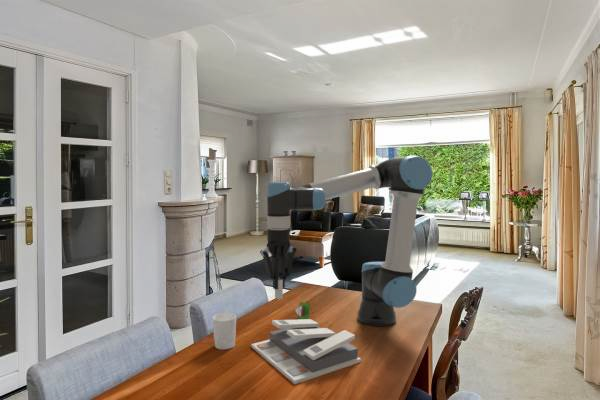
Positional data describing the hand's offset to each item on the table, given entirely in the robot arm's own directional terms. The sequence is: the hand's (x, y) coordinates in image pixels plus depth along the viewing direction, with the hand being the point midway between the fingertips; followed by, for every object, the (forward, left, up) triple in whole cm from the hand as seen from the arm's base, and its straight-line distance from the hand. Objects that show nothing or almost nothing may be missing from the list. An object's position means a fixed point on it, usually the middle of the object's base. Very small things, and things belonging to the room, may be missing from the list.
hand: (278, 298), depth 132 cm
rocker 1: (-7, 0, -10) cm, 12 cm away
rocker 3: (-7, +20, -10) cm, 23 cm away
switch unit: (-4, +10, -16) cm, 19 cm away
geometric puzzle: (-21, -16, -17) cm, 31 cm away
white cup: (+15, -10, -17) cm, 25 cm away
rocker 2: (-7, +10, -10) cm, 16 cm away
